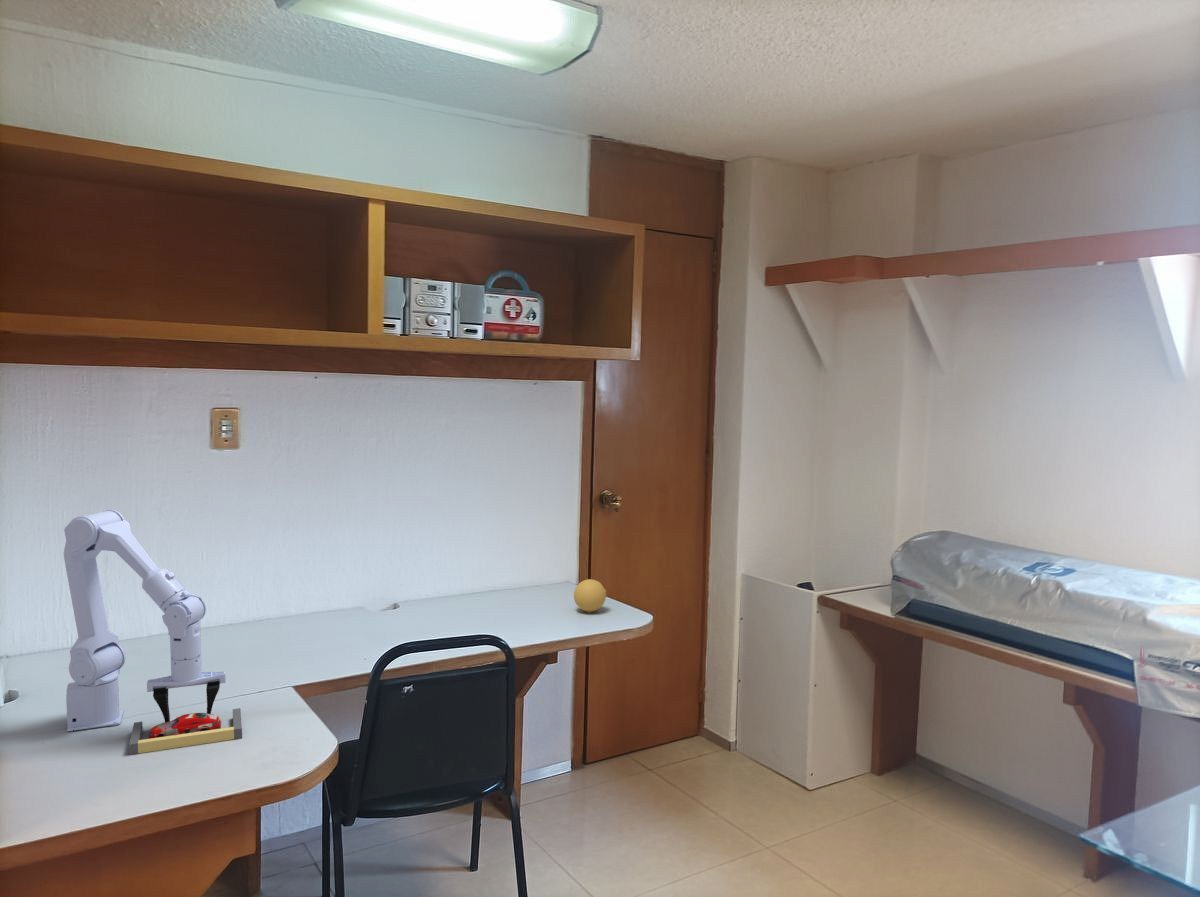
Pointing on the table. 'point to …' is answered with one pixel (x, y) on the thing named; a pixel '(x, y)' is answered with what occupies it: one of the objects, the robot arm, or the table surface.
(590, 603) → the stress ball
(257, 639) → the table surface
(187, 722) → the race car
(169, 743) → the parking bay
